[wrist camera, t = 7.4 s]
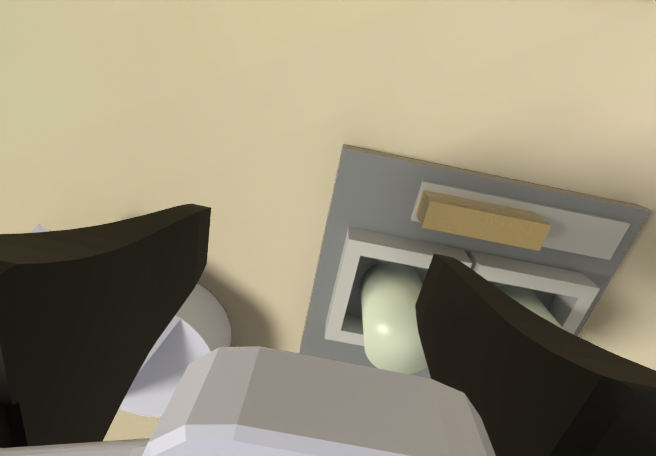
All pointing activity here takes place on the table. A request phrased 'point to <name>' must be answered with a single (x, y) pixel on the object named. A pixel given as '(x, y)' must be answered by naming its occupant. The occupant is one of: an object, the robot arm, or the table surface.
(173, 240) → the robot arm
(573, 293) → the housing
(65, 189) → the table surface
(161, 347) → the wedge on round base
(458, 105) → the table surface
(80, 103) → the table surface
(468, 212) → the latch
